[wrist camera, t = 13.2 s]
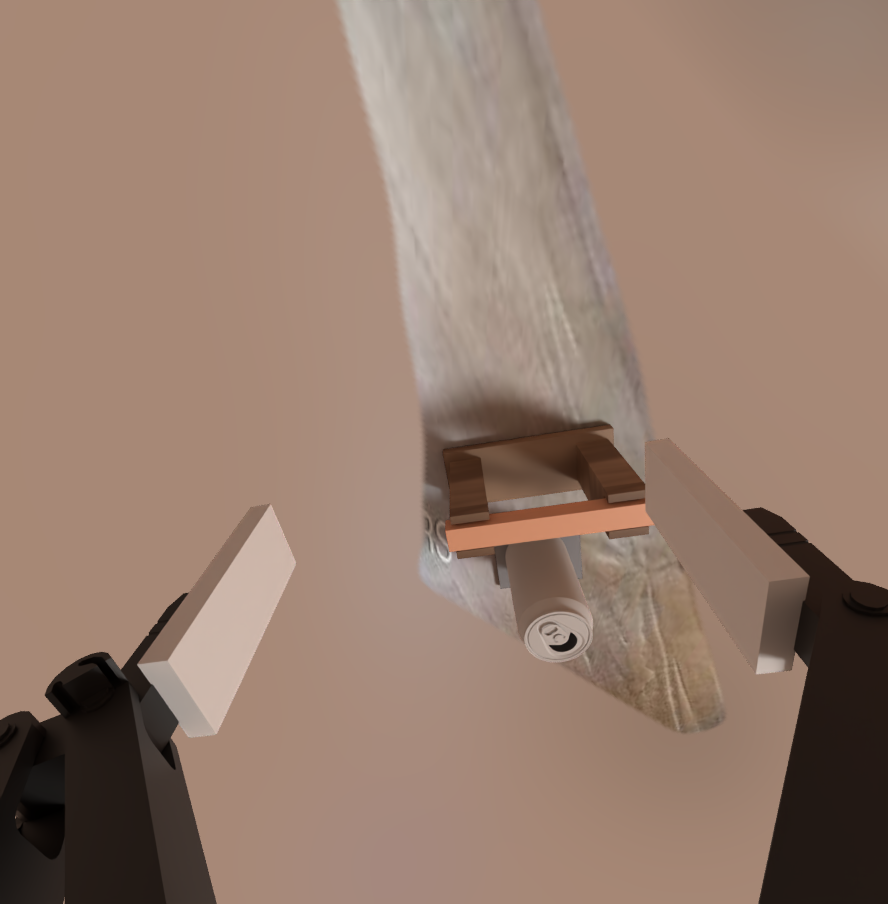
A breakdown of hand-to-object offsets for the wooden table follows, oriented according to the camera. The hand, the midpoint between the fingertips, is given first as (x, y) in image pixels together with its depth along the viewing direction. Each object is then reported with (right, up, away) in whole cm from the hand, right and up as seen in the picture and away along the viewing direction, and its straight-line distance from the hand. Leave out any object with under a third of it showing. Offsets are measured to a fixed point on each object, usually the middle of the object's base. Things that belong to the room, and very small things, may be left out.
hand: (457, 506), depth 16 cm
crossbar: (+8, -3, +20) cm, 22 cm away
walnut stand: (+8, +1, +29) cm, 30 cm away
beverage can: (+9, -8, +33) cm, 35 cm away
